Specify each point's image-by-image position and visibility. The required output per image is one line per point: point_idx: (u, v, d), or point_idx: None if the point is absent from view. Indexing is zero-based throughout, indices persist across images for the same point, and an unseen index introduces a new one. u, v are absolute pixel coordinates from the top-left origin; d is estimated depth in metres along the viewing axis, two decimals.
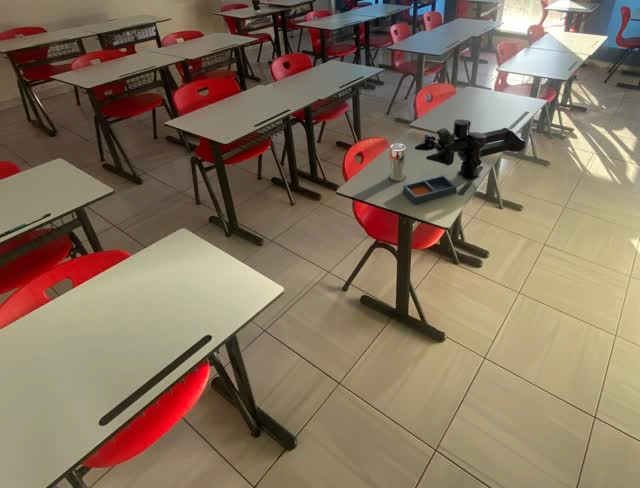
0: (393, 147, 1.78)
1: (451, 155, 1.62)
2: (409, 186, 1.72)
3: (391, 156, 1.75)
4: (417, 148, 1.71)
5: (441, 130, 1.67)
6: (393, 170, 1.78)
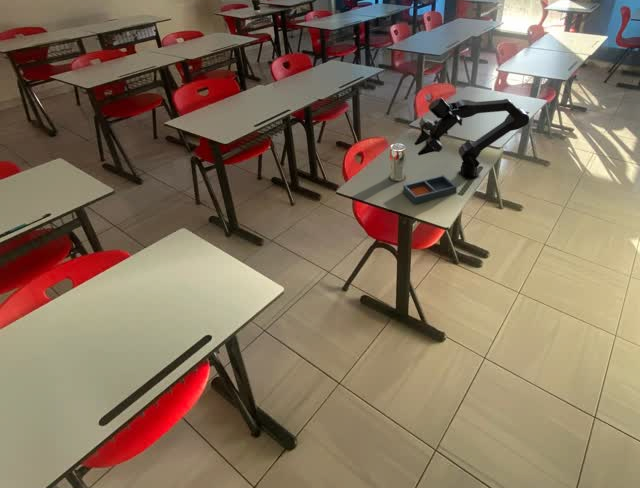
0: (393, 147, 1.78)
1: (433, 144, 1.65)
2: (409, 186, 1.72)
3: (391, 156, 1.75)
4: (417, 143, 1.79)
5: (420, 122, 1.70)
6: (393, 170, 1.78)
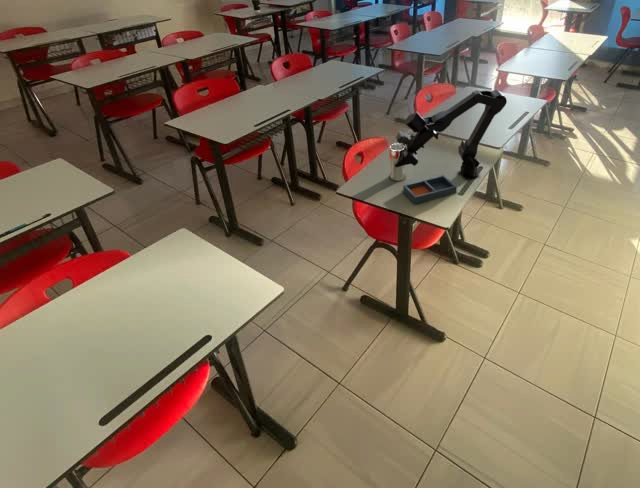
0: (392, 147, 1.77)
1: (409, 158, 1.67)
2: (409, 186, 1.72)
3: (390, 156, 1.75)
4: None
5: (397, 136, 1.72)
6: (393, 170, 1.78)
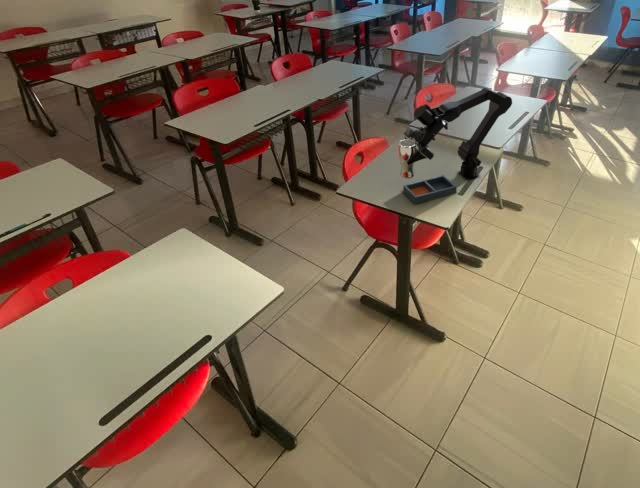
0: (401, 144, 1.68)
1: (425, 152, 1.59)
2: (409, 186, 1.72)
3: (402, 153, 1.65)
4: None
5: (407, 131, 1.63)
6: (404, 168, 1.69)
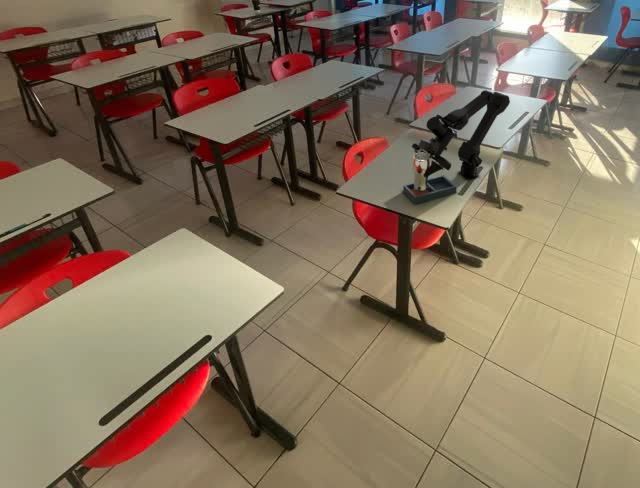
0: None
1: (445, 163, 1.57)
2: (409, 186, 1.72)
3: (418, 167, 1.60)
4: None
5: (421, 144, 1.59)
6: (420, 181, 1.65)
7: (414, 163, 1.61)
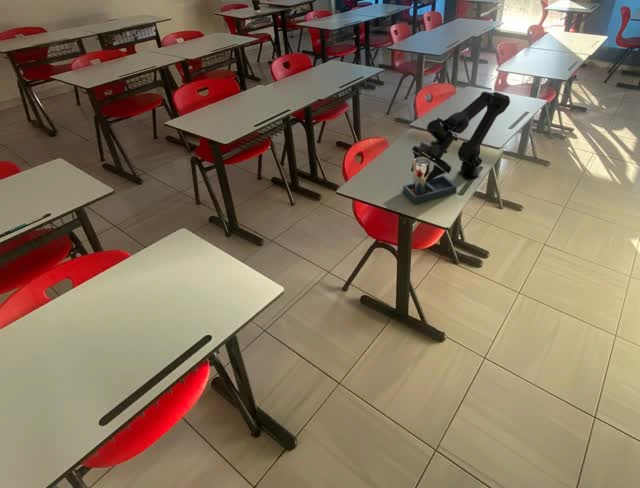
0: (414, 162, 1.65)
1: (445, 166, 1.58)
2: (409, 186, 1.72)
3: (418, 172, 1.62)
4: None
5: (421, 147, 1.60)
6: (420, 186, 1.66)
7: (414, 167, 1.63)
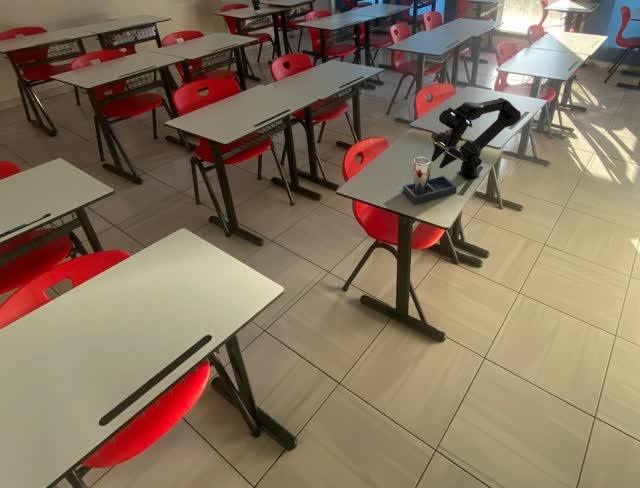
0: (414, 162, 1.65)
1: (453, 151, 1.61)
2: (409, 186, 1.72)
3: (418, 172, 1.62)
4: (434, 159, 1.76)
5: (432, 135, 1.67)
6: (420, 186, 1.66)
7: (414, 167, 1.63)
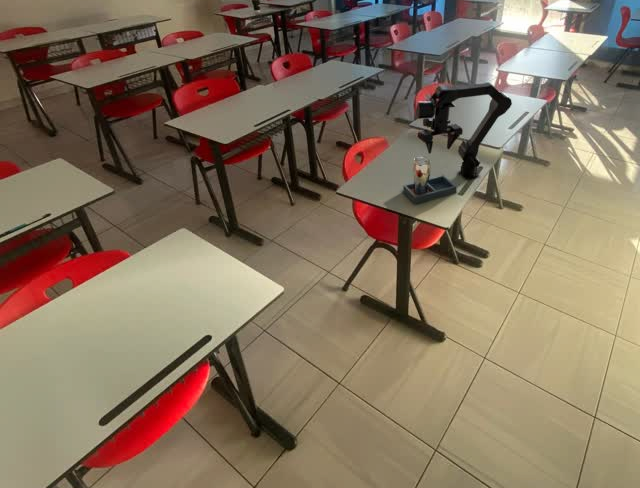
0: (414, 162, 1.65)
1: (418, 135, 1.69)
2: (409, 186, 1.72)
3: (418, 172, 1.62)
4: (448, 147, 1.77)
5: None
6: (420, 186, 1.66)
7: (414, 167, 1.63)
